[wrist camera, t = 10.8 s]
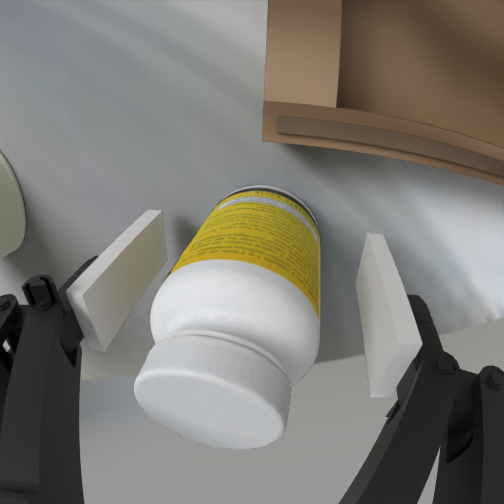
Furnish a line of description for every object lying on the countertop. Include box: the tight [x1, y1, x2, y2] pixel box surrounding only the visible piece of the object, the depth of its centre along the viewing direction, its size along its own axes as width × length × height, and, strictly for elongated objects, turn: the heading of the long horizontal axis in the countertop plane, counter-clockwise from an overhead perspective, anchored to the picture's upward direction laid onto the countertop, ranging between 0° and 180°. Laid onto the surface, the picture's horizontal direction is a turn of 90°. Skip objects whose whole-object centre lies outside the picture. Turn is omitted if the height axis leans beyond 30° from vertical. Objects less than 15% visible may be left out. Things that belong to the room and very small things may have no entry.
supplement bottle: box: [134, 185, 320, 449], centre depth 11 cm, size 5×5×10 cm
